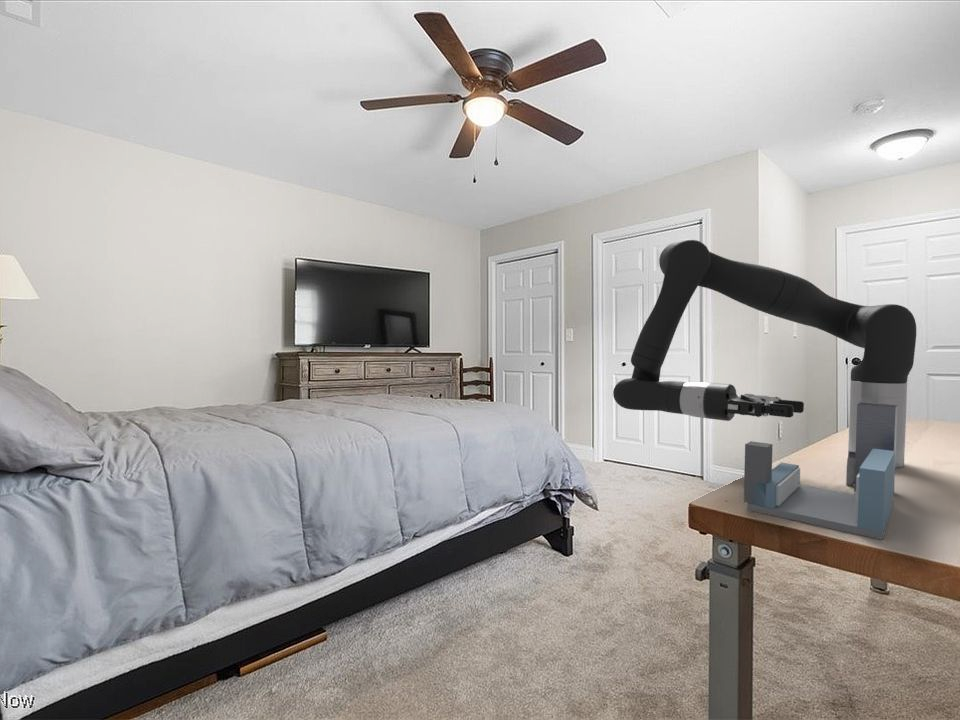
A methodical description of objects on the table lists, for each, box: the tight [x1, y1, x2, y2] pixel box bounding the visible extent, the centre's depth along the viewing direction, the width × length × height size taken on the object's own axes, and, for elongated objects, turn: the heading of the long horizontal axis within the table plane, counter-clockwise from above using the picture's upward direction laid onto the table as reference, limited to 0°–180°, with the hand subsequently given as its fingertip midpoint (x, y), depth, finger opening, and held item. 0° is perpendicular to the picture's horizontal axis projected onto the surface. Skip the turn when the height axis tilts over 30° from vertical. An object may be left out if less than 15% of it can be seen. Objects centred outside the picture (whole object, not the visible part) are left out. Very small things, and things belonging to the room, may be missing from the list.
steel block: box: [853, 402, 897, 495], centre depth 83 cm, size 4×5×15 cm
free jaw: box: [743, 440, 801, 508], centre depth 78 cm, size 16×4×9 cm, turn 136°
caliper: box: [845, 451, 856, 487], centre depth 93 cm, size 20×1×6 cm, turn 134°
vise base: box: [746, 448, 895, 541], centre depth 74 cm, size 17×16×9 cm
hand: (798, 409), depth 90 cm, fingers open, 8 cm apart
